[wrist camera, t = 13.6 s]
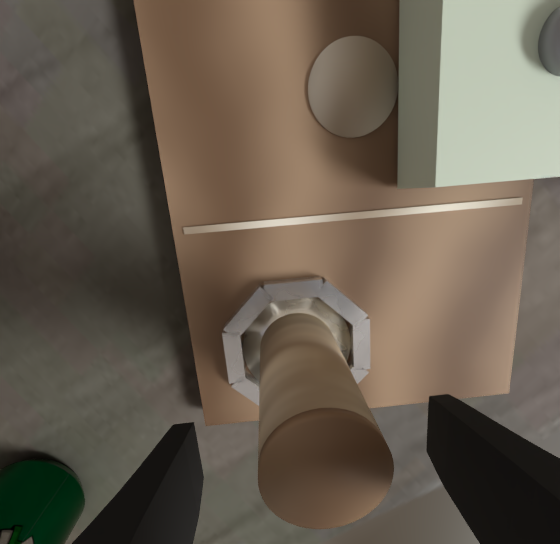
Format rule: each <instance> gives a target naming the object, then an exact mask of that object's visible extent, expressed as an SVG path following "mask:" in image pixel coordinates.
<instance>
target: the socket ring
mask: <svg viewBox="0 0 560 544" xmlns="http://www.w3.org/2000/svg"><path fill="white" fill-rule="evenodd" d="M316 297H319V298H320V299H319V298H316ZM292 313H306V314H310V315H313V316H315V317H317V318H319V319H320V320H322V321H323V322H324V323H325V324H326V325H327V326H328V327H329V329H330V330H331V332H332V334H333V336H334V338H335V340H336V342H337V344H338V346H339V348H340V350H341V352H342V354H343V356H344V358H345V360H346V362H347V360H348V357H349V353H350V361H349V362H348V363H347V364H348V366H349V369H350V371H351V373H352V375H353V377H354V379H355V381H356V383H357V384H358V383H359V382H360V381H361V380H362V379H363V378H364V377H365V376H366V375H367V374H368V373H369V372H368V370H367V369H370V318H369V317H368V315H367V313H366V312H365V311H364V310H363V309H362V308H360V307H359V306H358V305H357V304H356V303H354V302H353V301H352V300H351V299H350V298H348V297H347V296H346V295H345V294H344V293H342V292H341V291H340V290H339V289H338V288H336V287H335V286H334V285H333V284H332V283H330V282H329V281H328V280H327V279H326V278H323V279H322V278H321V277H320V276H314V277H303V278H293V279H282V280H272V281H264V286H263V285H261V284H259V285H258V286H257V287H256V288H255V289H254V291H253V292H252V293H251V294H250V295H249V296H248V298H247V299H246V300H245V301H244V302H243V304H242V305H241V306H240V307H239V308H238V309H237V311H236V312H235V313H234V314H233V315H232V316H231V318H230V319H229V320H228V321H227V322H226V323H225V325H224V329H223V332H222V337H223V344H224V351H225V358H226V365H227V372H228V379H229V384H231V383H232V385H231V387H232V388H234V389H235V390H236V391H238V392H239V393H241V394H242V395H244V396H245V397H247V398H248V399H250V400H251V401H253V402H254V403H255V404H257V405H258V406H259V386H260V344H261V339H262V336H263V334H264V332H265V331H266V329H267V328H268V327H269V326H270V325H271V324H272V323H273V322H274V321H275V320H277V319H278V318H280V317H282V316H285V315H288V314H292ZM343 318H345V319H346V320H347V321H348V322H349V327H350V333H349V329H348V327H347V324H346V322H345V320H344V319H343ZM245 330H246V332H245V336H244V342H242V334H243V333H244V331H245ZM245 361H246V364H247V366H248V368H249V370H250V372H251V373H252V374H253V375H251V374H250V373H249V372H247V371H246V366H245Z"/></svg>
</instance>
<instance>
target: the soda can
mask: <svg viewBox="0 0 560 544" xmlns="http://www.w3.org/2000/svg"><path fill="white" fill-rule="evenodd" d="M84 505H85V498H84V491H83V488H82V485H81V482H80V480H79V478H78V477H77V475H76V474H75V473H74V472H73V471H72V470H71V469H69V468H68V467H67V466H65V465H63V464H61V463H59V462H56V461H53V460H49V459H30V460H24V461H20V462H17V463H13V464H10V465H8V466H6V467H4V468H3V469H1V470H0V544H65V542H66V540H67V539H68V537H69V535H70V533H71V532H72V530H73V528H74V526H75V524H76V523H77V521H78V519H79V517H80V516H81V514H82V512H83V509H84Z"/></svg>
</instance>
